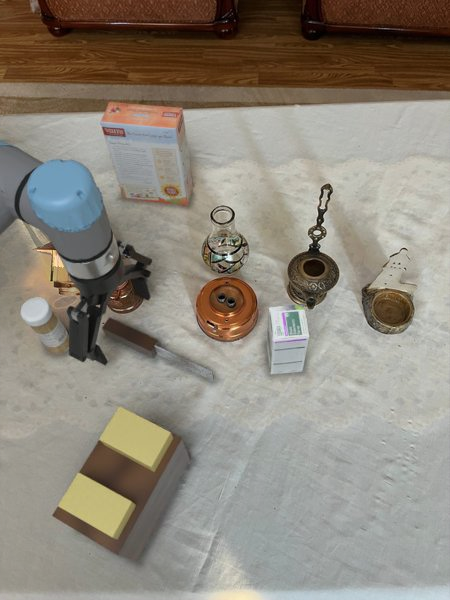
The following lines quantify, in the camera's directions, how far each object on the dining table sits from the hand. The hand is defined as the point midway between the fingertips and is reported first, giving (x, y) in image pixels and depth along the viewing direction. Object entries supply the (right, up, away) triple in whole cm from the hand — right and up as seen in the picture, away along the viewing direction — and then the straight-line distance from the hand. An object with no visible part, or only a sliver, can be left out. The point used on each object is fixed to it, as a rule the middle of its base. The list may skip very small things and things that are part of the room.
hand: (122, 327), depth 89 cm
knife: (+6, -5, +3) cm, 9 cm away
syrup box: (+28, -6, +2) cm, 28 cm away
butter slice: (+2, -22, -22) cm, 31 cm away
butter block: (+6, -14, -18) cm, 24 cm away
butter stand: (+4, -25, -8) cm, 27 cm away
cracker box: (+4, +27, +22) cm, 35 cm away
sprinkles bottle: (-12, -3, +5) cm, 13 cm away
